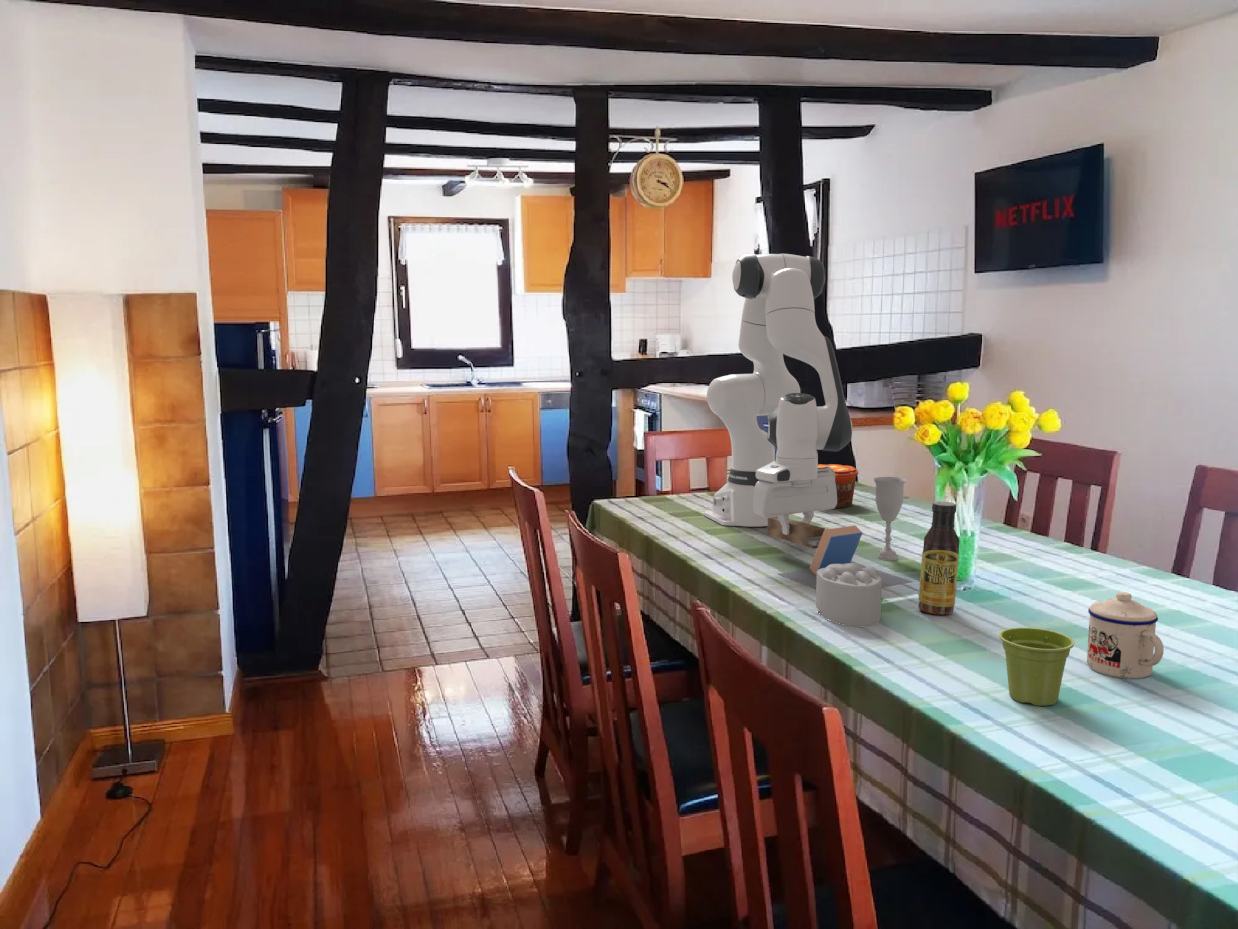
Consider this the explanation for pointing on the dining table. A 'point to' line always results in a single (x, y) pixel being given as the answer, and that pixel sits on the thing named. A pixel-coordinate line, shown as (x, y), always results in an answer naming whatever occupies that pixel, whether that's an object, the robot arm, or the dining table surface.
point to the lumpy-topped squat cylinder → (849, 594)
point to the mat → (887, 579)
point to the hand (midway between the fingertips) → (795, 532)
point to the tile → (836, 547)
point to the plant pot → (1035, 663)
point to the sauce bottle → (939, 562)
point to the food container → (843, 483)
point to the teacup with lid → (1123, 638)
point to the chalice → (889, 508)
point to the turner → (796, 532)
